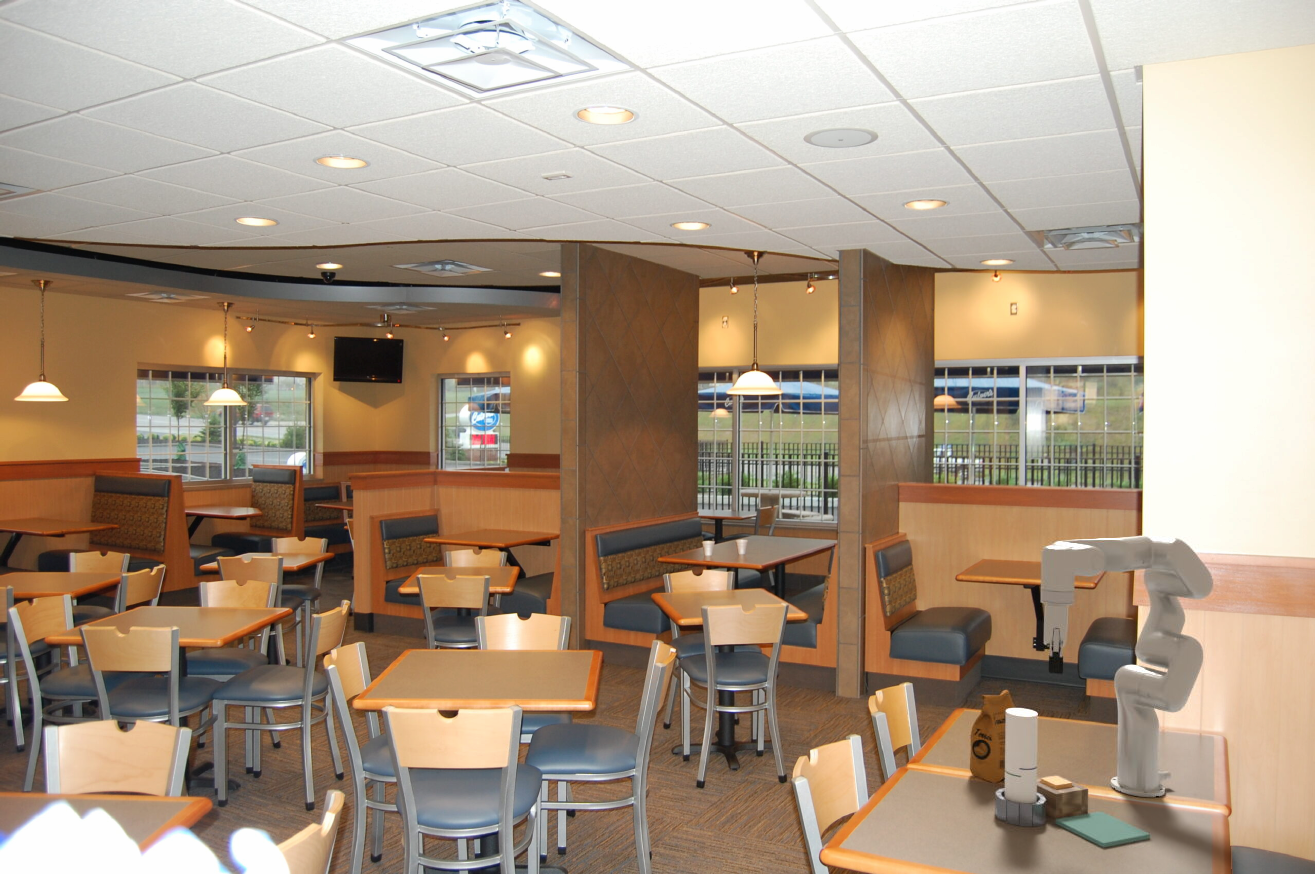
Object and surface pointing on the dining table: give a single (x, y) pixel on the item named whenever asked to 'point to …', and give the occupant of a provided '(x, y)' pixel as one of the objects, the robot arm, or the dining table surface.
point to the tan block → (1056, 782)
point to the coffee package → (990, 738)
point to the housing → (1064, 800)
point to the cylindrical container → (1021, 755)
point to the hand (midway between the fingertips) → (1055, 672)
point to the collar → (1020, 810)
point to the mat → (1102, 829)
